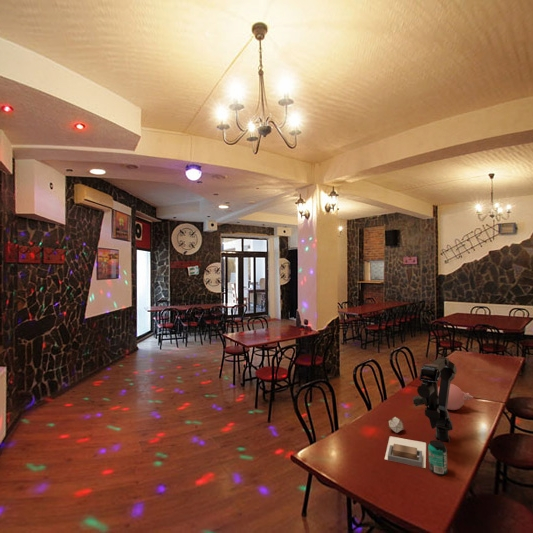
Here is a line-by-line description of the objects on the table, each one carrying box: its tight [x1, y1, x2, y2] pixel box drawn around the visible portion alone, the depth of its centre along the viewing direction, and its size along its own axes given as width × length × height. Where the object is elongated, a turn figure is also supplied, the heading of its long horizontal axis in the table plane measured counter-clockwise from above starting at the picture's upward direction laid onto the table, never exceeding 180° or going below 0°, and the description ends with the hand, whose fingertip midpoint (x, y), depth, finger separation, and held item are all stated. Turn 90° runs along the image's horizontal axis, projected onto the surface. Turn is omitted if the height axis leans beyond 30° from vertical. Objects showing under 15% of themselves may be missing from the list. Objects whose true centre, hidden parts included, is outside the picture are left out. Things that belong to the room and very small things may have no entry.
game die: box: [387, 415, 406, 434], centre depth 176 cm, size 9×8×10 cm
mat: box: [384, 435, 427, 469], centre depth 157 cm, size 23×17×3 cm
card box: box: [393, 444, 417, 460], centre depth 151 cm, size 10×6×4 cm, turn 63°
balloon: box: [438, 383, 474, 411], centre depth 202 cm, size 15×20×15 cm
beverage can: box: [427, 439, 449, 477], centre depth 141 cm, size 7×7×12 cm
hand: (432, 424), depth 159 cm, fingers open, 9 cm apart
